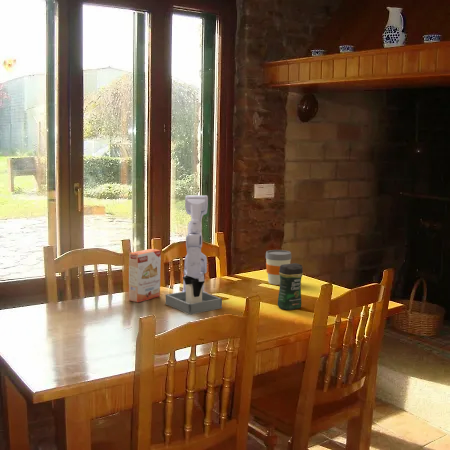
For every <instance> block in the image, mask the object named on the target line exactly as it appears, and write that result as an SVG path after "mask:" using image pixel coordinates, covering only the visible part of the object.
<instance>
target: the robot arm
mask: <svg viewBox="0 0 450 450" xmlns="http://www.w3.org/2000/svg"><path fill="white" fill-rule="evenodd" d="M208 197H209V196H208V195H207V194H205V195H196V194H193V195H192V194H191V195H189V194H186V195H185V197H184V199H185V203H184V204H185V205H184V207H185V212H186V214H187V215H189V216H190V221H189V222H188V225H187V234H186V236H185V247H186V255H185V257H184V269H183V275H184V276H183V277H182V279H183V283H182V285H183V287H182V290H181V292H185V291H186V285H187V284H192V286H193V294H194V297H199V295H200V291H201V288H202V291H203V292H205V293H208V292H207V291H205V289H204V288H205V286H204V285H205V274H206V273H207V272H208V269H207V268H208V259H207V255H206V254H205V253H203V252H202V248H203V235H202V234H203V233H202V228H203V225H202V219H203V217H204V215H205V216H206V215H207V214H208V207H209V204H208V203H209V198H208Z"/></svg>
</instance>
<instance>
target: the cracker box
mask: <svg viewBox="0 0 450 450" xmlns="http://www.w3.org/2000/svg"><path fill="white" fill-rule="evenodd" d="M161 253H162V250H160V249H156V248H149V249H143V250H137V251H132V252H128V301H131V302H134V303H136V304H137V303H140V302H145V301H147V300H151V299H155V298H156V299H157V298H159V297H161V262H162V260H161V258H162V257H161V256H162V255H161Z"/></svg>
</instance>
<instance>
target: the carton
mask: <svg viewBox="0 0 450 450" xmlns="http://www.w3.org/2000/svg"><path fill="white" fill-rule="evenodd" d="M186 302H187V303H189V304H192V303H198V302H202V288H201V291H200V295H199V297H194V294H193V286H192V284H187V285H186Z"/></svg>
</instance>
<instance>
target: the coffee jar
mask: <svg viewBox="0 0 450 450" xmlns="http://www.w3.org/2000/svg"><path fill="white" fill-rule="evenodd" d="M279 275H280V285H279V289H278V297H277V307H278V308H279V309H281V310H288V311H289V310H290V311H291V310H297V309H301V307H302V286H301V285H302V277H303V275H304V272H303V265H302V264H299V263H290V264H284V265H281V266H280V270H279Z"/></svg>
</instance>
